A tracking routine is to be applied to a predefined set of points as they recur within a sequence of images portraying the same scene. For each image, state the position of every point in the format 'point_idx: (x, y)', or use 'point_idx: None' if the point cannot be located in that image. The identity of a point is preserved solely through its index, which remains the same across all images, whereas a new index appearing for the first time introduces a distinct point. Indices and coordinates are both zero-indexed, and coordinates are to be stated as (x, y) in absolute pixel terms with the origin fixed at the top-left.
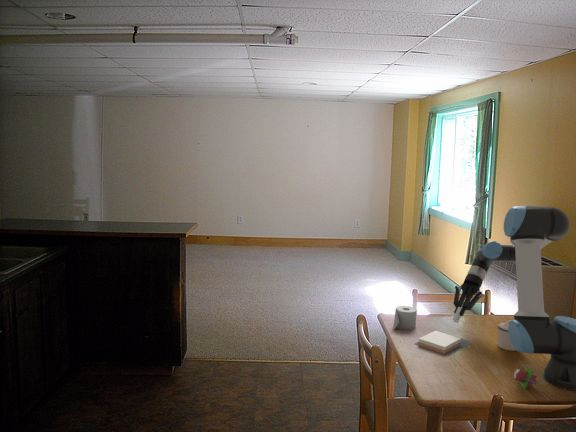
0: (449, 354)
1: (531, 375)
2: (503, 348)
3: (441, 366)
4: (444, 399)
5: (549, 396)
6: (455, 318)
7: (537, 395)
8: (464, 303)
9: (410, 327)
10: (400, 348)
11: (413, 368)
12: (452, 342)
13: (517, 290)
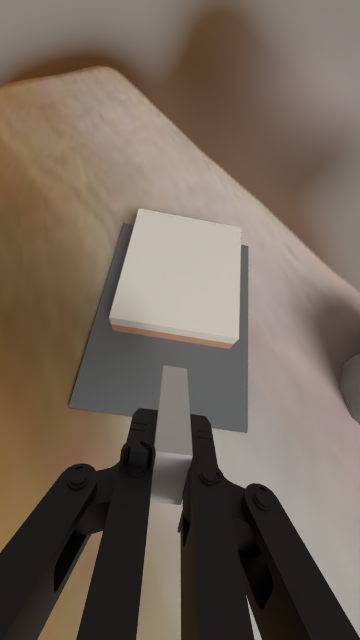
0: (124, 232)
1: None
2: None
3: (121, 168)
4: (74, 73)
5: None
6: (170, 370)
7: None
8: (134, 522)
9: (350, 366)
10: (258, 210)
11: (173, 138)
12: (128, 255)
13: None
